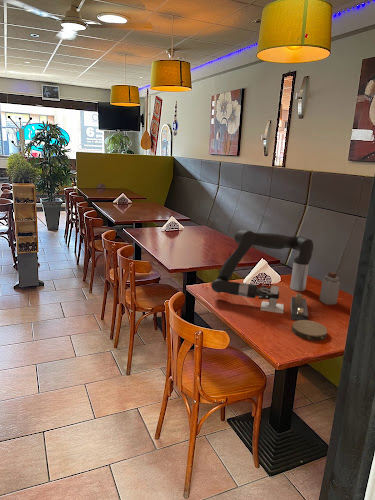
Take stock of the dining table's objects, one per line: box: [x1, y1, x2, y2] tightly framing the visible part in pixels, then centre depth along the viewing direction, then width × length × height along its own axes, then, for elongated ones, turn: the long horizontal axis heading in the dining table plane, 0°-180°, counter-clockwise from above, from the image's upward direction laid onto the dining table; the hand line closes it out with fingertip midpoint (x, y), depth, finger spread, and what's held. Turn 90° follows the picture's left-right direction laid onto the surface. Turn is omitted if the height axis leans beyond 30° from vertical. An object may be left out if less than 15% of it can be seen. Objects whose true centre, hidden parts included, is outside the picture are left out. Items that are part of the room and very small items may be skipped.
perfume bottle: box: [319, 271, 341, 306], centre depth 214 cm, size 7×7×18 cm
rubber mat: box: [260, 300, 285, 314], centre depth 204 cm, size 12×12×1 cm
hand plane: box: [290, 292, 309, 321], centre depth 200 cm, size 24×8×6 cm, turn 165°
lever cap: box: [268, 285, 280, 307], centre depth 202 cm, size 5×4×10 cm
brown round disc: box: [291, 320, 328, 342], centre depth 177 cm, size 16×16×3 cm
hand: (278, 295), depth 201 cm, fingers closed on lever cap, 5 cm apart
